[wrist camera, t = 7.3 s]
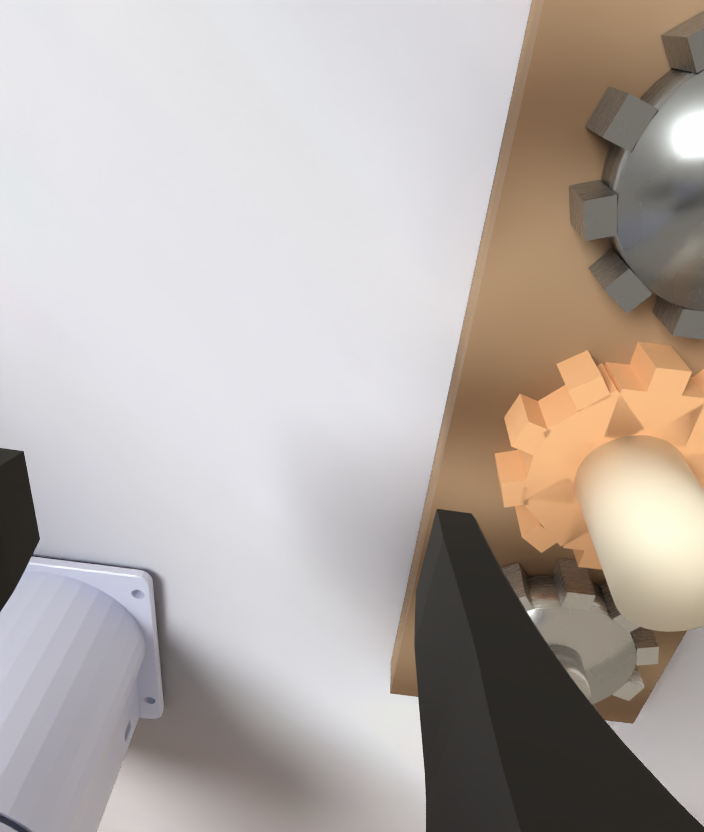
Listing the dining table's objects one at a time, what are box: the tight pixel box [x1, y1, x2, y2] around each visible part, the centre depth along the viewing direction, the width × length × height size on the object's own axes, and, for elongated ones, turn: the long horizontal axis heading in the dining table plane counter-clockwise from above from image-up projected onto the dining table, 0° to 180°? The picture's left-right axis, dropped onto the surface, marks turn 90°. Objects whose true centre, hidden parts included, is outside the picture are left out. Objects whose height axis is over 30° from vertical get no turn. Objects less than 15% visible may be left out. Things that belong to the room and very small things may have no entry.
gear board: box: [390, 0, 704, 723], centre depth 19 cm, size 26×10×3 cm, turn 174°
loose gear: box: [495, 342, 704, 632], centre depth 17 cm, size 7×7×6 cm
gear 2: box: [501, 558, 659, 710], centre depth 22 cm, size 7×7×3 cm
